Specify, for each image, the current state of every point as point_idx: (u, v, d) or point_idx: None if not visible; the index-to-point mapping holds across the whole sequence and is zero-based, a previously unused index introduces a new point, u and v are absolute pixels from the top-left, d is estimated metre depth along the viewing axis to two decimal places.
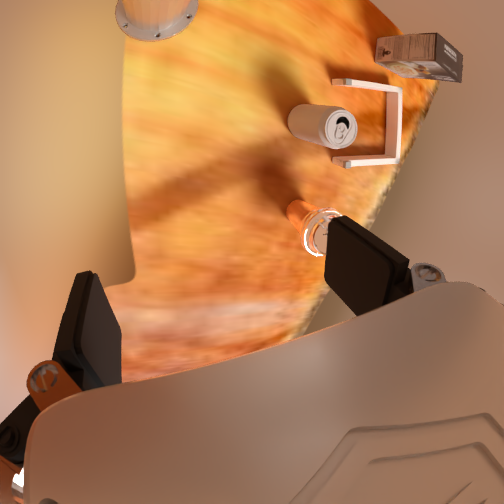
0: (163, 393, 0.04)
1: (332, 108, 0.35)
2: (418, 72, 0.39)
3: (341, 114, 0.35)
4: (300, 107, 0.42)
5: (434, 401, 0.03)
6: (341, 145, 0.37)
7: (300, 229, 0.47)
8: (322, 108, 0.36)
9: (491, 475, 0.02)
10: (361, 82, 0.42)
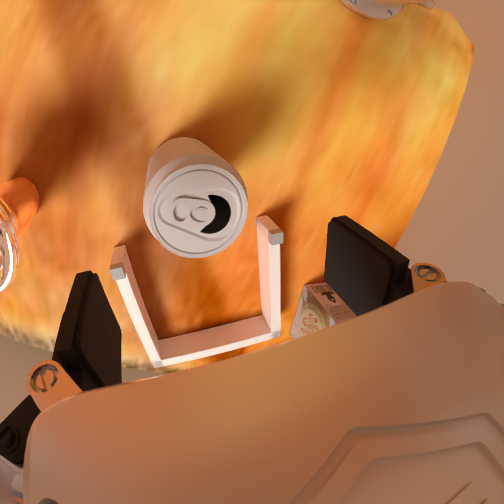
0: (163, 393, 0.04)
1: (242, 184, 0.17)
2: None
3: (236, 205, 0.16)
4: None
5: (434, 401, 0.03)
6: (156, 222, 0.15)
7: None
8: None
9: (491, 475, 0.02)
10: (277, 265, 0.30)
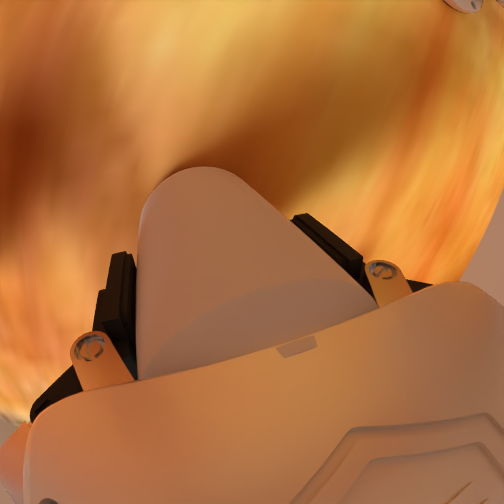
0: (163, 393, 0.04)
1: None
2: None
3: None
4: None
5: (434, 401, 0.03)
6: None
7: None
8: None
9: (491, 475, 0.02)
10: None
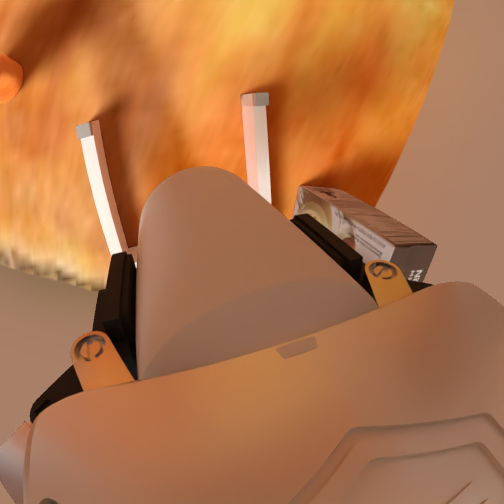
0: (163, 393, 0.04)
1: None
2: None
3: None
4: None
5: (434, 401, 0.03)
6: None
7: None
8: None
9: (491, 475, 0.02)
10: (264, 136, 0.25)
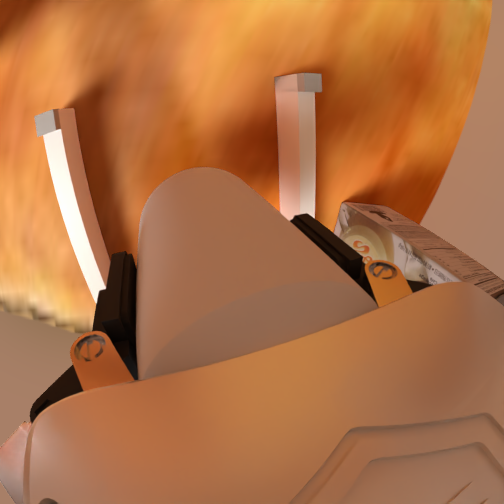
0: (163, 393, 0.04)
1: None
2: None
3: None
4: None
5: (434, 401, 0.03)
6: None
7: None
8: None
9: (491, 475, 0.02)
10: (311, 136, 0.17)
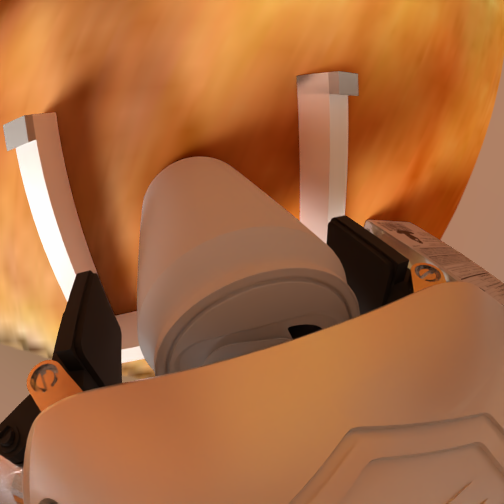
0: (163, 393, 0.04)
1: None
2: None
3: None
4: None
5: (434, 401, 0.03)
6: None
7: None
8: None
9: (491, 475, 0.02)
10: (343, 148, 0.14)
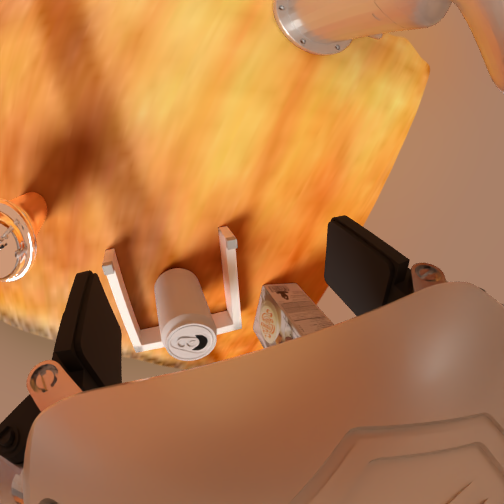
0: (163, 393, 0.04)
1: (213, 325, 0.31)
2: (275, 341, 0.40)
3: (210, 338, 0.30)
4: (196, 281, 0.37)
5: (434, 401, 0.03)
6: (169, 347, 0.29)
7: None
8: (208, 312, 0.32)
9: (491, 475, 0.02)
10: (234, 266, 0.37)
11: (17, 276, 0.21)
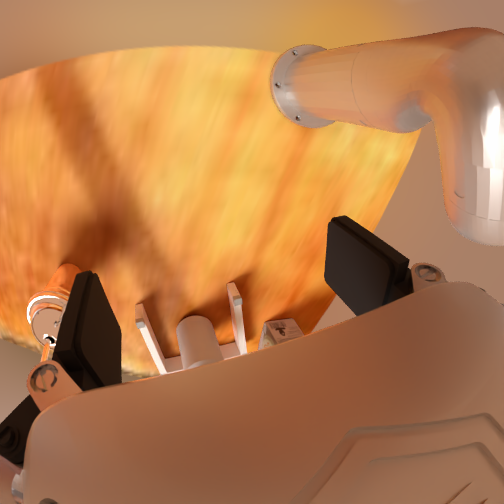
0: (163, 393, 0.04)
1: None
2: None
3: None
4: (210, 326, 0.46)
5: (434, 401, 0.03)
6: None
7: (50, 287, 0.29)
8: (220, 355, 0.41)
9: (491, 475, 0.02)
10: (240, 315, 0.46)
11: None
